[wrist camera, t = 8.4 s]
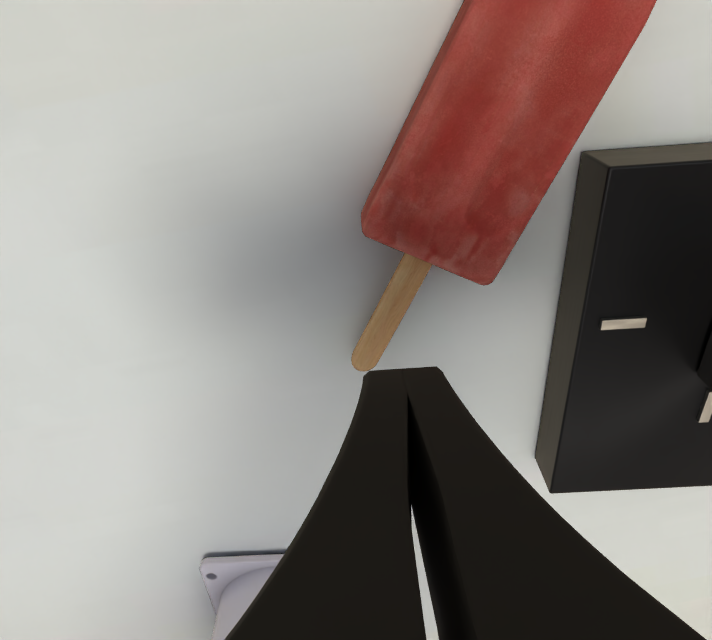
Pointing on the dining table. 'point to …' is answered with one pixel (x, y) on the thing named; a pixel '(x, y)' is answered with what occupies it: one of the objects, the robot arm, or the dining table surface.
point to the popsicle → (489, 139)
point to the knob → (706, 364)
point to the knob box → (633, 326)
